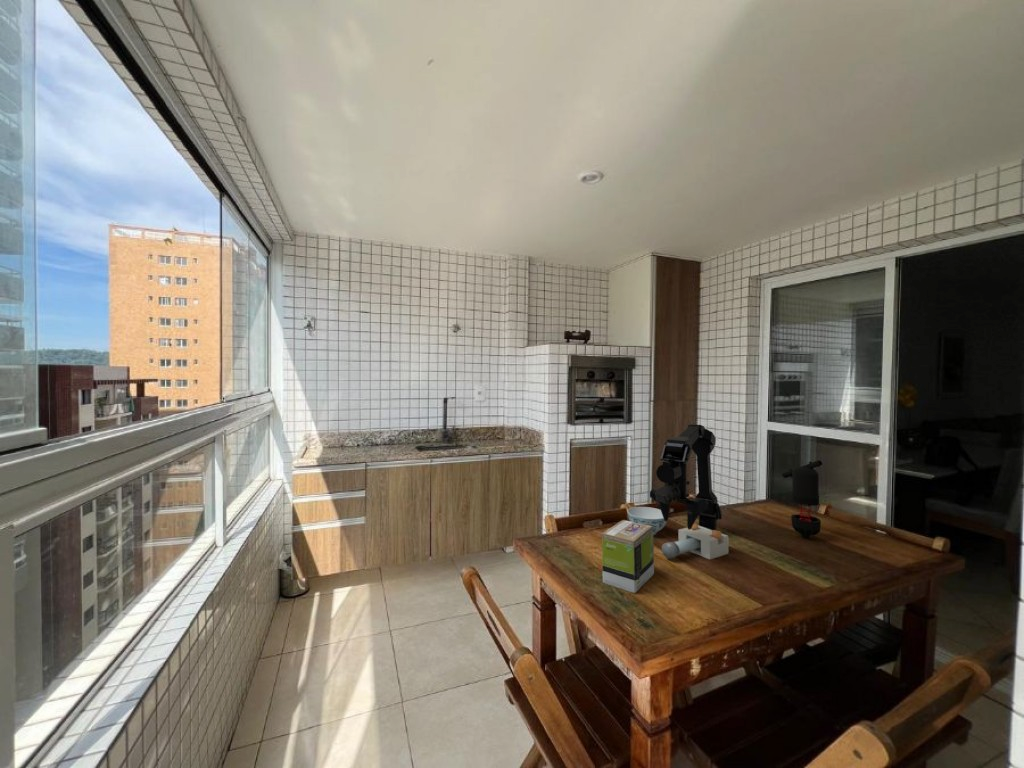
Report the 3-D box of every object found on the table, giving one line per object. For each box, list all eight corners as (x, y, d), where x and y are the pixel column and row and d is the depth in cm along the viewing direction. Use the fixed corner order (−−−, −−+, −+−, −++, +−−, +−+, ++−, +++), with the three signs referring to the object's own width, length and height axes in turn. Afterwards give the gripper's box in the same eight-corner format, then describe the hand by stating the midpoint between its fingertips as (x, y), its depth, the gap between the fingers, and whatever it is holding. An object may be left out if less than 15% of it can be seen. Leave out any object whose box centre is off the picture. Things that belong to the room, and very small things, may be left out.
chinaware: (661, 543, 143) (661, 521, 143) (621, 533, 152) (621, 513, 152) (672, 531, 155) (673, 511, 155) (635, 523, 164) (635, 504, 164)
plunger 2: (715, 536, 136) (715, 529, 136) (723, 539, 133) (723, 532, 133) (710, 538, 134) (710, 530, 135) (717, 541, 132) (717, 533, 132)
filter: (829, 541, 146) (829, 459, 146) (815, 545, 142) (815, 461, 142) (789, 529, 158) (789, 454, 158) (776, 533, 154) (775, 455, 154)
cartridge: (693, 546, 138) (693, 533, 138) (704, 551, 134) (704, 537, 134) (661, 555, 131) (661, 541, 131) (673, 560, 127) (673, 546, 127)
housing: (696, 541, 145) (696, 524, 145) (728, 553, 134) (728, 535, 134) (678, 546, 140) (678, 529, 140) (709, 559, 130) (709, 541, 130)
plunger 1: (692, 528, 144) (692, 521, 144) (699, 531, 141) (699, 524, 141) (687, 530, 142) (687, 523, 142) (694, 532, 140) (694, 525, 140)
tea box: (623, 565, 125) (623, 518, 125) (654, 574, 119) (655, 525, 119) (601, 583, 114) (601, 531, 114) (635, 595, 107) (635, 540, 108)
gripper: (638, 474, 135) (638, 520, 135) (685, 486, 119) (685, 538, 119) (661, 471, 141) (660, 515, 141) (709, 482, 124) (709, 532, 124)
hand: (677, 524), depth 131 cm, fingers open, 9 cm apart
